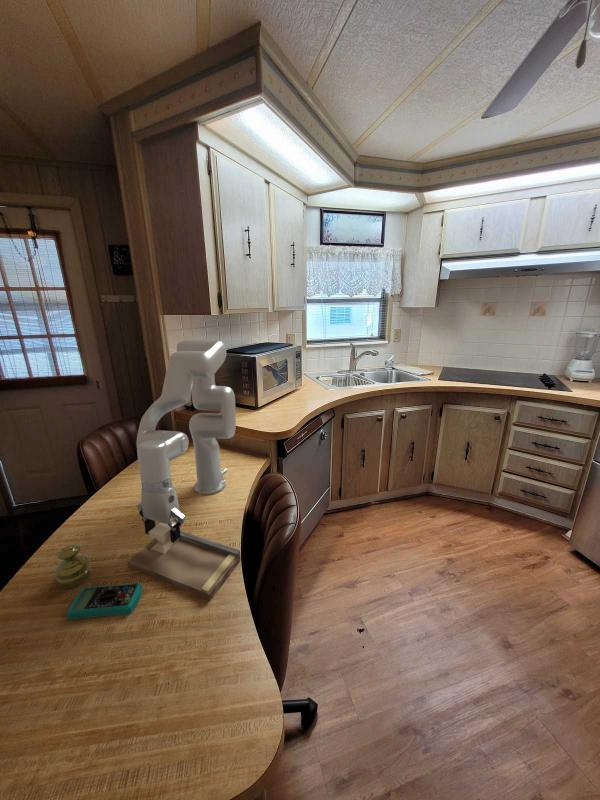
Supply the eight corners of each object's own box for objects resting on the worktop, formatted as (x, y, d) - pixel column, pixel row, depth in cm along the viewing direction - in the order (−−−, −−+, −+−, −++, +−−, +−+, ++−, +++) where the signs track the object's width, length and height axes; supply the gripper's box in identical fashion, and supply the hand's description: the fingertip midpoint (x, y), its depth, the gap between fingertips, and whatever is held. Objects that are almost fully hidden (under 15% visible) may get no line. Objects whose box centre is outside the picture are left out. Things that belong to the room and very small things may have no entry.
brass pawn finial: (62, 572, 84) (54, 542, 81) (94, 564, 87) (87, 534, 84) (54, 594, 78) (45, 562, 75) (88, 584, 80) (81, 553, 78)
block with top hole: (166, 535, 95) (164, 519, 94) (179, 540, 93) (177, 523, 92) (142, 556, 87) (139, 538, 86) (156, 561, 85) (153, 543, 84)
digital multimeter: (133, 615, 73) (131, 606, 72) (66, 622, 71) (64, 612, 70) (145, 589, 80) (143, 580, 79) (84, 594, 78) (82, 585, 77)
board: (166, 535, 98) (164, 525, 98) (240, 560, 89) (240, 550, 88) (128, 567, 86) (126, 557, 85) (210, 600, 76) (209, 589, 75)
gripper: (190, 482, 86) (195, 534, 90) (144, 471, 92) (151, 520, 97) (170, 496, 79) (176, 552, 84) (122, 483, 86) (130, 535, 90)
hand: (163, 535), depth 90 cm, fingers open, 9 cm apart
